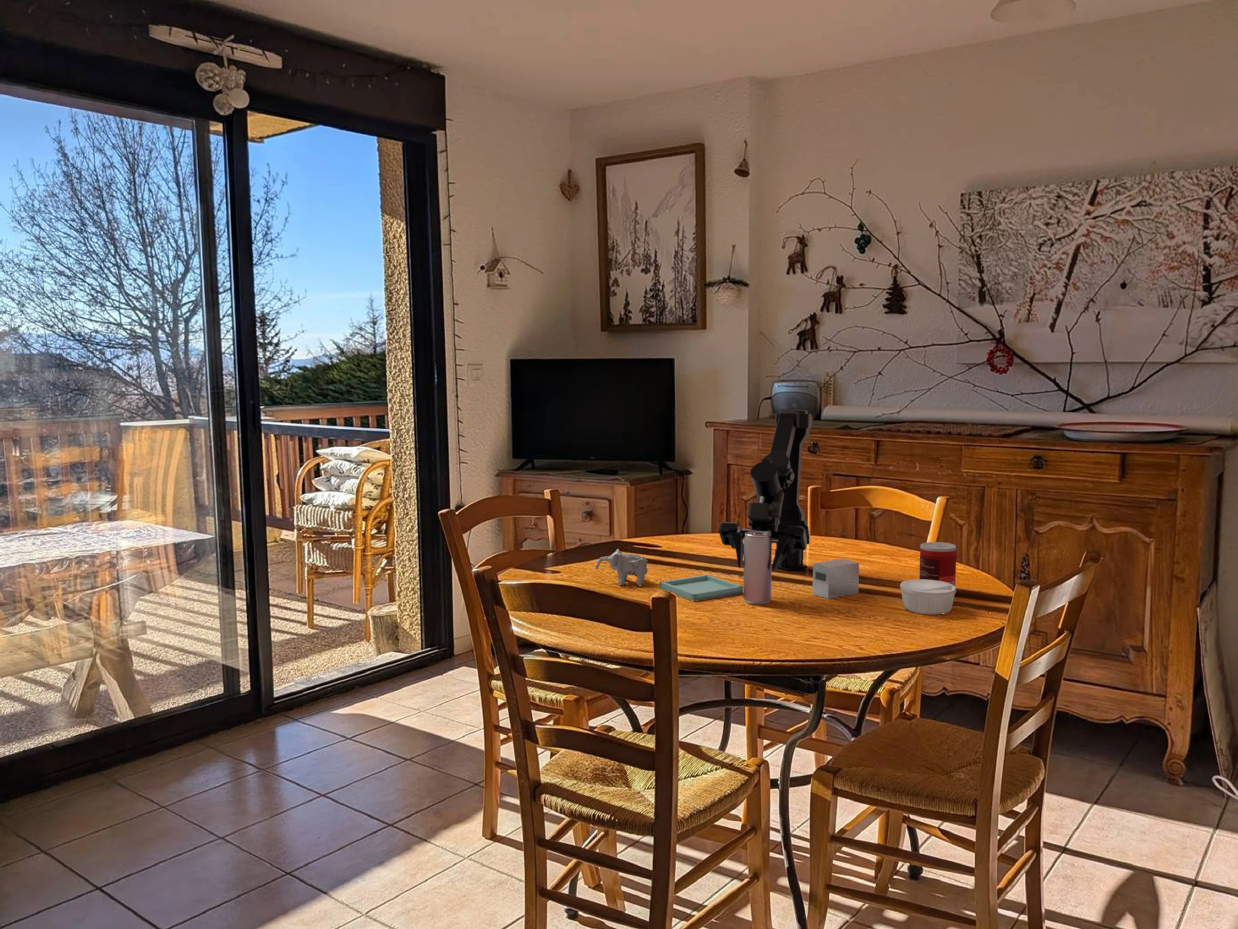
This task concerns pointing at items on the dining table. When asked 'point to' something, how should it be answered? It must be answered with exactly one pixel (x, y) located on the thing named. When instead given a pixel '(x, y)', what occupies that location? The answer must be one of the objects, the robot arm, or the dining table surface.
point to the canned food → (938, 562)
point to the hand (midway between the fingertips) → (756, 568)
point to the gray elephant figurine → (626, 566)
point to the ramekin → (927, 596)
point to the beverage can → (757, 567)
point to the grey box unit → (835, 578)
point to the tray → (701, 587)
